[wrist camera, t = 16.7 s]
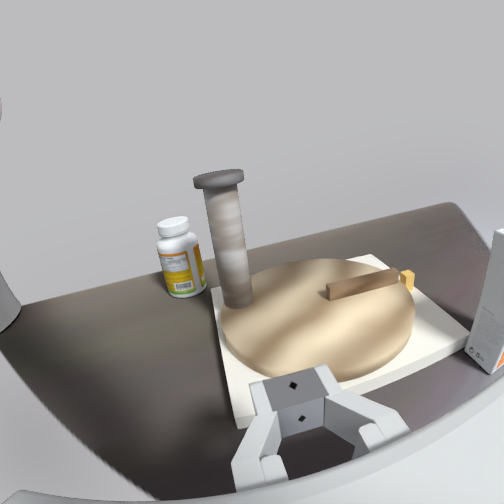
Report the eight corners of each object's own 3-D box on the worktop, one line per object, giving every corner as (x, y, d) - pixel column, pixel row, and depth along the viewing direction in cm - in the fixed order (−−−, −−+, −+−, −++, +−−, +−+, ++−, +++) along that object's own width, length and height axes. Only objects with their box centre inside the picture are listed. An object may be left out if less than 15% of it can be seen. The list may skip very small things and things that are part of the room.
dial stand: (238, 429, 20) (229, 401, 19) (212, 298, 38) (207, 274, 37) (467, 345, 23) (476, 315, 22) (370, 263, 41) (371, 240, 40)
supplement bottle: (191, 276, 45) (177, 212, 41) (215, 285, 42) (201, 216, 38) (161, 291, 42) (144, 225, 38) (184, 303, 38) (165, 230, 34)
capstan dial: (182, 340, 28) (143, 193, 23) (283, 260, 42) (272, 154, 37) (382, 413, 18) (414, 204, 12) (424, 283, 31) (432, 157, 26)
